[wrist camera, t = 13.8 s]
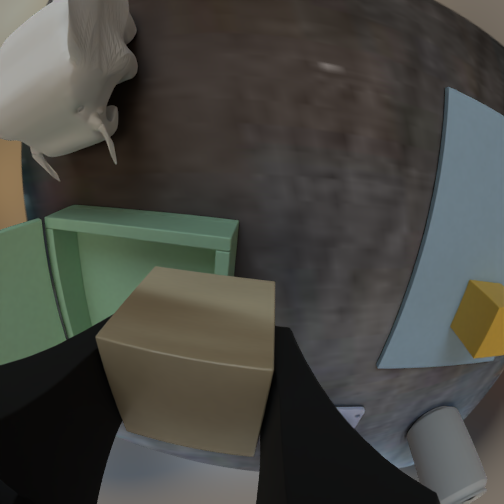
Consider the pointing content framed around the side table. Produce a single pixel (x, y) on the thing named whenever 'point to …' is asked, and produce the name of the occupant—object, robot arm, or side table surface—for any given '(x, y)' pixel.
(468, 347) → the mustard block
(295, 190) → the side table surface
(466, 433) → the beverage can
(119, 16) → the elephant figurine
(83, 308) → the box
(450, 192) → the placemat
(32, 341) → the lunchbox lid
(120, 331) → the birch block
